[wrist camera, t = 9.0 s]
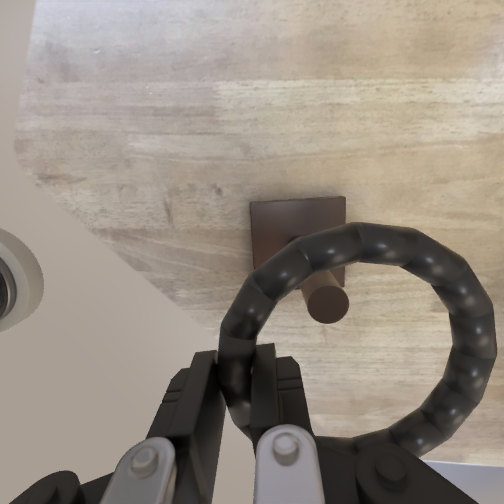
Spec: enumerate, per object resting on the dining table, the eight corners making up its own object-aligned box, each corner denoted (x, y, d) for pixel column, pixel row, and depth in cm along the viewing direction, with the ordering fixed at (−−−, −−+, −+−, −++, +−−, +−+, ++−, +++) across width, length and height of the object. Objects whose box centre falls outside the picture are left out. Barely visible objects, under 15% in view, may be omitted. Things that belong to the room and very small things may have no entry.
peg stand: (255, 287, 28) (251, 379, 16) (249, 201, 26) (239, 228, 14) (341, 283, 28) (407, 374, 15) (342, 196, 26) (419, 217, 13)
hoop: (174, 398, 11) (166, 425, 10) (306, 167, 9) (316, 165, 8) (380, 485, 12) (395, 517, 11) (529, 299, 11) (565, 315, 9)
